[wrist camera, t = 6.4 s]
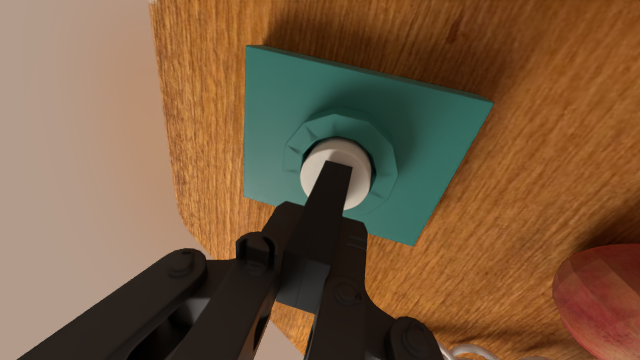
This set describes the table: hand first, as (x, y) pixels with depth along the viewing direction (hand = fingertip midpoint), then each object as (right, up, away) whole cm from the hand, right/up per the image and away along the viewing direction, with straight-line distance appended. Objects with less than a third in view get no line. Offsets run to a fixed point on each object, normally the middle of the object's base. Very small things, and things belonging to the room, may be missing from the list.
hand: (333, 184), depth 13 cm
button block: (+1, +3, +5) cm, 5 cm away
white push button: (0, +1, +2) cm, 2 cm away
